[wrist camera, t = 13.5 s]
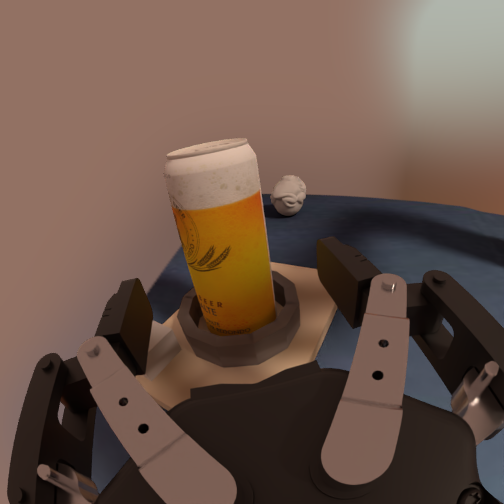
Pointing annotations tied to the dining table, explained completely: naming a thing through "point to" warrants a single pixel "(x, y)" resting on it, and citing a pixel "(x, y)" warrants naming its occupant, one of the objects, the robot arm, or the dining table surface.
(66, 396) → the robot arm
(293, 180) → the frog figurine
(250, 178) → the beer can
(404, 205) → the dining table surface
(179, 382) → the board
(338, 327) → the dining table surface
